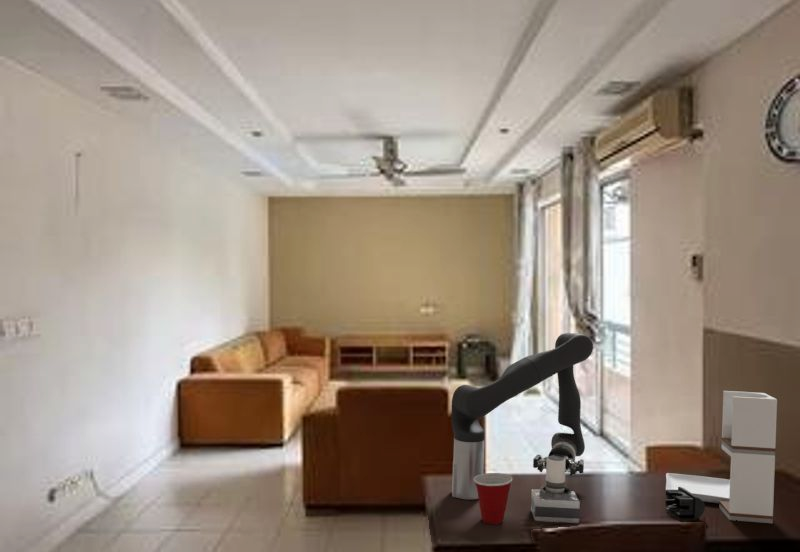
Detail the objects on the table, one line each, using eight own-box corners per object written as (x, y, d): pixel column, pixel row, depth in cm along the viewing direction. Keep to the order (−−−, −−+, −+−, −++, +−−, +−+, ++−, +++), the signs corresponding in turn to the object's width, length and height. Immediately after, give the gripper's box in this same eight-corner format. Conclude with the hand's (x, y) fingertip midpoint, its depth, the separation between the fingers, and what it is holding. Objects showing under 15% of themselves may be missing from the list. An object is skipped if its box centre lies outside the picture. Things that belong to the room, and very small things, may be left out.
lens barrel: (546, 496, 201) (547, 460, 200) (544, 490, 206) (545, 455, 206) (566, 497, 200) (567, 461, 200) (562, 491, 206) (564, 456, 205)
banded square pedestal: (534, 520, 199) (535, 493, 199) (530, 509, 208) (531, 483, 208) (579, 523, 198) (580, 496, 198) (573, 511, 207) (574, 486, 207)
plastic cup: (470, 512, 204) (471, 470, 204) (508, 514, 203) (510, 472, 203) (473, 526, 193) (474, 482, 193) (513, 528, 193) (515, 483, 192)
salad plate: (665, 500, 222) (665, 489, 222) (665, 481, 242) (666, 471, 242) (741, 510, 214) (741, 498, 214) (735, 490, 234) (735, 479, 234)
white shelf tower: (759, 510, 213) (764, 392, 213) (772, 523, 203) (777, 399, 202) (719, 507, 215) (723, 390, 214) (729, 519, 204) (734, 396, 204)
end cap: (704, 521, 203) (705, 497, 203) (680, 521, 202) (681, 497, 202) (687, 509, 213) (688, 486, 213) (664, 509, 212) (665, 486, 212)
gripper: (539, 441, 221) (531, 454, 205) (586, 446, 216) (582, 460, 201) (538, 466, 221) (530, 480, 205) (586, 471, 216) (581, 486, 201)
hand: (556, 470), depth 203 cm, fingers open, 8 cm apart
